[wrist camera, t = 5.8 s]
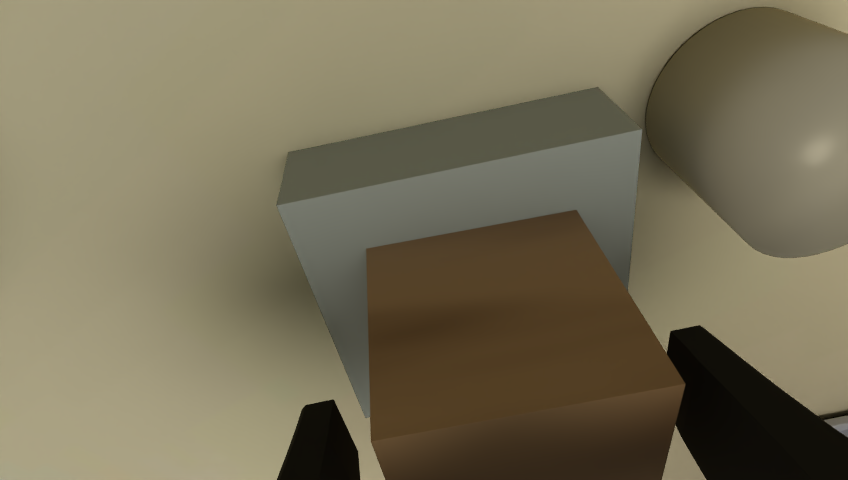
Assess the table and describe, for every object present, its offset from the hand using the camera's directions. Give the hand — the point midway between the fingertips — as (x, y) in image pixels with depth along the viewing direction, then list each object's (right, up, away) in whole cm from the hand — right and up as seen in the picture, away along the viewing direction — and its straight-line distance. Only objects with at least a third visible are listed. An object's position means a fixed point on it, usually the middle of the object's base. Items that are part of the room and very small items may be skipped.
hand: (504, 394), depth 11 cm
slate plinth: (-1, +4, +5) cm, 6 cm away
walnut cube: (0, +2, +2) cm, 3 cm away
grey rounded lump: (+6, +7, +2) cm, 10 cm away
